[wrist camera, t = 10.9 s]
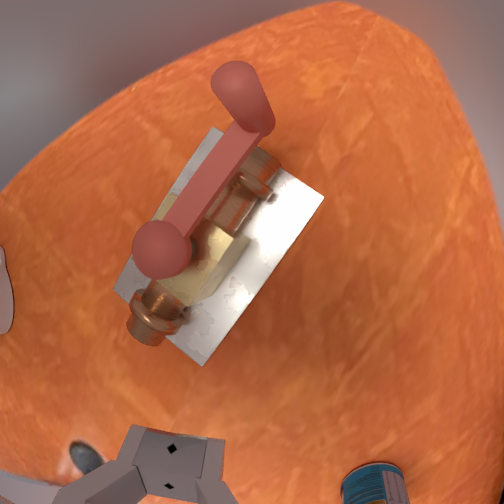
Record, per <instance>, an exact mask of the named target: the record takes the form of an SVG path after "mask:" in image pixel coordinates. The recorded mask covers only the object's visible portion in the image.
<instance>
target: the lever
mask: <svg viewBox="0 0 504 504" xmlns="http://www.w3.org/2000/svg"><path fill="white" fill-rule="evenodd" d="M211 88H212V90H213V92H214V93H215V95H216V96H217V97H218V98H219V100H220V101H221V102H222V104H223V105H224V106H225V108H226V109H227V110H228V111H229V113H230V114H231V115H232V117H233V118H234V119H235V120H234V121H233V123H232V124H231V125H230V127H229V128H228V129H227V130H226V132H225V133H224V134H223V136H222V137H221V138H220V139H219V141H218V142H217V143H216V145H215V146H214V147H213V149H212V150H211V151H210V153H209V154H208V155H207V157H206V158H205V159H204V161H203V162H202V164H201V165H200V166H199V168H198V169H197V170H196V172H195V173H194V175H193V176H192V177H191V179H190V180H189V182H188V183H187V184H186V186H185V187H184V189H183V190H182V192H181V193H180V194H179V196H178V197H177V199H176V200H175V202H174V203H173V205H172V206H171V208H170V209H169V210H168V212H167V213H166V215H165V216H164V218H163V219H162V220H153V221H150V222H147V223H146V224H144V225H143V226H142V227H141V228H140V229H139V230H138V231H137V233H136V235H135V237H134V240H133V245H132V255H133V259H134V262H135V264H136V266H137V268H138V269H139V271H140V272H141V273H142V274H143V275H145V276H146V277H148V278H151V279H155V280H161V279H166V278H171V277H174V276H177V275H179V274H180V273H182V272H183V271H184V270H185V269H186V267H187V266H188V264H189V262H190V259H191V255H192V245H191V240H190V238H189V237H190V235H191V234H192V233H193V231H194V230H195V228H196V227H197V225H198V224H199V223H200V221H201V220H202V218H203V217H204V216H205V214H206V213H207V211H208V210H209V209H210V207H211V206H212V204H213V203H214V202H215V200H216V199H217V198H218V196H219V195H220V193H221V192H222V191H223V189H224V188H225V187H226V185H227V184H228V183H229V181H230V180H231V179H232V177H233V176H234V175H235V173H236V172H237V171H238V169H239V168H240V167H241V165H242V164H243V163H244V161H245V160H246V159H247V157H248V156H249V155H250V153H251V152H252V151H253V149H254V148H255V147H256V146H257V144H258V143H259V142H260V140H261V139H262V138H263V137H265V136H267V135H269V134H270V133H271V132H272V131H273V129H274V127H275V122H276V121H275V116H274V114H273V112H272V109H271V107H270V104H269V102H268V100H267V97H266V95H265V92H264V90H263V88H262V85H261V83H260V81H259V79H258V76H257V74H256V72H255V70H254V68H253V67H252V66H251V65H250V64H248V63H246V62H243V61H231V62H228V63H225V64H223V65H222V66H220V67H219V68H218V69H217V70H216V71H215V72H214V74H213V76H212V79H211Z"/></svg>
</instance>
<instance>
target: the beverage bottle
mask: <svg viewBox="0 0 504 504" xmlns="http://www.w3.org/2000/svg"><path fill="white" fill-rule="evenodd" d="M341 500H342V504H410V502H409V498H408V494H407V490H406V487H405V482H404V477H403V474H402V472H401V471H400V469H399V468H397V467H396V466H394V465H392V464H388V463H372V464H367V465H364V466H362V467H359V468H357V469H356V470H354V471H352V472H351V473H350V474H349V475H348V476H347V477H346V478H345V479H344V481H343V483H342V485H341Z"/></svg>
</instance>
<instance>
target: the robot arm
mask: <svg viewBox="0 0 504 504" xmlns="http://www.w3.org/2000/svg"><path fill="white" fill-rule="evenodd" d="M12 319H13V295H12V289H11V284H10V280H9V277H8V273H7V270H6V266H5V255H4V250H3V248H2V247H0V334H5V333H7V332H8V330H9V329H10V327H11V324H12ZM224 451H225V439H215V438H208V437H201V436H193V435H186V434H179V433H178V434H176V433H171V432H166V431H161V430H156V429H152V428H148V427H143V426H139V425H134V424H133V425H132V426H131V427H130V428H129V431H128V433H127V435H126V438H125V440H124V442H123V445H122V447H121V449H120V452H119V454H118V456H117V459H116V461H114V460H110V461H109V462H107V463H105V464H104V465H102V466H100V467H99V468H97V469H95V470H93V471H92V472H90V473H88V474H87V475H85V476H83V477H81V478H79V479H78V480H76V481H74V482H72V483H70V484H69V485H67V486H65V487H63V488H61V489H59V491H58V493H57V495H56V497H55V499H54V501H53V503H52V504H137V503H138V502H139V501H140V500H141V499H143V498H144V497H145V496H146V495H147V494H151V495H156V496H161V497H167V498H173V499H178V500H183V501H188V502H194V503H198V504H239V503H238V502H237V500H236V499H235V497H234V496H233V494H232V493H231V491H230V490H229V488H228V487H227V485H226V483H225V482H224V481H222V478H223V468H224ZM0 504H14V503H12V502H11V501H9V500H7V499H6V498H4V497H2V496H1V495H0Z"/></svg>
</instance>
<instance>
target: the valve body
mask: <svg viewBox="0 0 504 504" xmlns="http://www.w3.org/2000/svg"><path fill="white" fill-rule="evenodd" d="M223 134H224V133H223V132H221V131H220V130H218V129H216V128H215V127H212V128H211V130H210V131H209V133H208V134H207V135H206V137H205V138H204V140H203V141H202V143H201V144H200V145H199V147H198V148H197V150H196V151H195V153H194V154H193V156H192V157H191V159H190V160H189V162H188V163H187V165H186V166H185V168H184V169H183V171H182V172H181V174H180V175H179V177H178V178H177V180H176V181H175V183H174V184H173V186H172V188H171V189H170V191H169V192H168V194H167V195H166V197H165V199H164V200H163V202H162V203H161V205H160V207H159V208H158V210H157V212H156V213H155V215H154V217H153V218H152V220H151V221H153V220H162V219H163V218H164V216H165V215H166V213H167V212H168V210H169V209H170V208H171V206H172V205H173V203H174V202H175V200H176V199H177V197H178V196H179V194H180V193H181V192H182V190H183V189H184V187H185V186H186V184H187V183H188V182H189V180H190V179H191V177H192V176H193V175H194V173H195V172H196V170H197V169H198V168H199V166H200V165H201V164H202V162H203V161H204V159H205V158H206V157H207V155H208V154H209V153H210V151H211V150H212V149H213V147H214V146H215V145H216V143H217V142H218V141H219V139H220V138H221V137H222V136H223ZM280 167H281V164H280V163H279V162H278V161H277V160H276V159H275V158H274V157H272V156H271V155H270V154H268V153H267V152H266V151H264V150H263V149H261V148H260V147H258V146H256V147H255V148H254V149H253V151H252V152H251V153H250V155H249V156H248V157H247V159H246V160H245V161H244V163H243V164H242V165H241V167H240V168H239V169H238V171H237V172H236V173H235V175H234V176H233V177H232V179H231V180H230V181H229V183H228V184H227V185H226V187H225V188H224V189H223V191H222V192H221V193H220V195H219V196H218V198H217V199H216V200H215V202H214V203H213V204H212V206H211V207H210V209H209V210H208V211H207V213H206V214H205V216H204V217H203V218H202V220H201V221H200V223H199V224H198V225H197V227H196V228H195V230H194V231H193V233H192V234H191V235H190V237H189V238H190V240H191V245H192V255H191V259H190V262H189V264H188V266H187V267H186V269H185V270H184V271H183V272H182V273H180V274H179V275H177V276H174V277H171V278H166V279H161V280H155V279H151V278H148V277H146V276H145V275H143V274H142V273H141V272H140V271H139V269H138V268H137V266H136V264H135V262H134V259H133V255H132V254H131V256H130V258H129V260H128V261H127V263H126V265H125V267H124V269H123V271H122V272H121V274H120V276H119V278H118V280H117V282H116V284H115V286H114V287H113V290H114V291H115V292H116V293H117V294H118V295H119V296H121V297H122V298H123V299H124V300H125V301H126V302H127V303H128V304H129V307H130V310H131V312H132V313H131V315H130V317H129V319H128V321H127V323H126V326H127V329H128V331H129V332H130V334H131V335H132V336H133V337H134V338H135V339H137V340H138V341H140V342H141V343H143V344H146V345H149V346H159V345H160V344H161V343H162V342H163V340H164V339H165V337H166V338H167V339H169V340H170V341H171V342H172V343H173V344H175V345H176V346H177V347H178V348H179V349H181V350H182V351H183V352H184V353H185V354H187V355H188V356H189V357H190V358H192V359H193V360H194V361H195V362H197V363H198V364H199V365H200V366H203V365H204V364H205V363H206V362H207V360H208V359H209V358H210V356H211V355H212V354H213V352H214V351H215V350H216V348H217V347H218V346H219V344H220V343H221V342H222V340H223V339H224V338H225V336H226V335H227V334H228V332H229V331H230V330H231V328H232V327H233V326H234V324H235V323H236V321H237V320H238V319H239V317H240V316H241V315H242V313H243V312H244V311H245V309H246V308H247V306H248V305H249V304H250V302H251V301H252V300H253V298H254V297H255V295H256V294H257V293H258V291H259V290H260V289H261V287H262V286H263V284H264V283H265V282H266V280H267V279H268V277H269V276H270V275H271V273H272V272H273V271H274V269H275V268H276V266H277V265H278V264H279V262H280V261H281V259H282V258H283V257H284V255H285V254H286V252H287V251H288V249H289V248H290V247H291V245H292V244H293V242H294V241H295V240H296V238H297V237H298V235H299V234H300V232H301V231H302V230H303V228H304V227H305V225H306V224H307V222H308V221H309V220H310V218H311V217H312V215H313V214H314V212H315V211H316V210H317V208H318V207H319V205H320V204H321V202H322V201H323V199H324V197H323V196H322V195H320V194H319V193H317V192H316V191H314V190H313V189H312V188H310V187H309V186H307V185H306V184H304V183H303V182H301V181H300V180H298V179H297V178H295V177H294V176H292V175H291V174H289V173H288V172H286V171H284V170H283V169H281V168H280Z"/></svg>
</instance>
